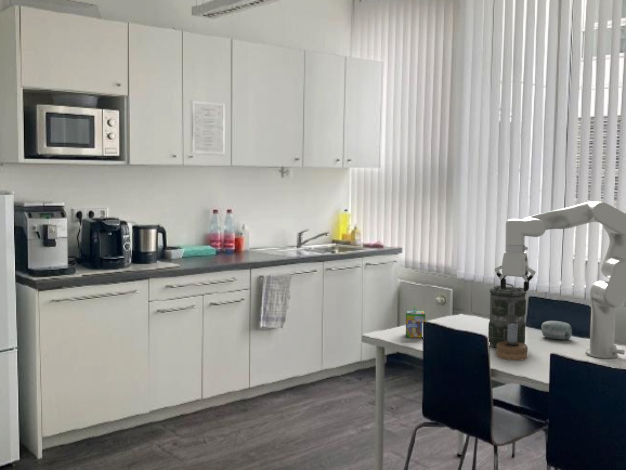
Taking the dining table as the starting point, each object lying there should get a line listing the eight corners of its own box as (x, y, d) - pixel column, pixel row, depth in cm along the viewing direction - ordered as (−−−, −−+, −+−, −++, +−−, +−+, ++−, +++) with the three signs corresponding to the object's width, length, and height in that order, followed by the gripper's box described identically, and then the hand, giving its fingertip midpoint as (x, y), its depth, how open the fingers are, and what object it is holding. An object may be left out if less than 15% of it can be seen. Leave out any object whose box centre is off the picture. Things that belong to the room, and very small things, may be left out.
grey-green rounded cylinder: (577, 331, 327) (569, 314, 324) (572, 344, 321) (564, 326, 318) (548, 334, 336) (541, 317, 333) (543, 346, 329) (536, 329, 326)
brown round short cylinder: (530, 355, 297) (531, 344, 296) (520, 361, 287) (520, 349, 287) (503, 351, 304) (504, 339, 304) (492, 357, 295) (492, 345, 294)
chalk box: (425, 338, 327) (425, 307, 325) (405, 337, 328) (405, 306, 327) (425, 334, 336) (425, 303, 334) (405, 333, 337) (406, 302, 336)
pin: (518, 356, 296) (519, 323, 295) (514, 358, 293) (515, 325, 292) (509, 354, 298) (510, 322, 297) (505, 356, 295) (506, 323, 294)
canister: (481, 343, 318) (482, 281, 316) (510, 340, 324) (511, 279, 321) (502, 351, 304) (503, 287, 301) (532, 348, 309) (534, 285, 307)
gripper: (538, 249, 289) (538, 290, 291) (498, 246, 300) (498, 286, 301) (532, 251, 283) (531, 293, 285) (491, 248, 294) (491, 289, 295)
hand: (514, 289), depth 293 cm, fingers open, 9 cm apart
